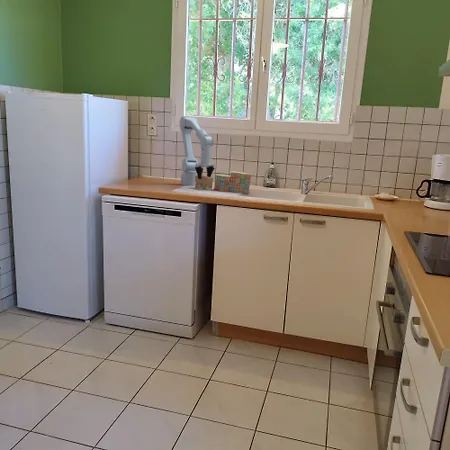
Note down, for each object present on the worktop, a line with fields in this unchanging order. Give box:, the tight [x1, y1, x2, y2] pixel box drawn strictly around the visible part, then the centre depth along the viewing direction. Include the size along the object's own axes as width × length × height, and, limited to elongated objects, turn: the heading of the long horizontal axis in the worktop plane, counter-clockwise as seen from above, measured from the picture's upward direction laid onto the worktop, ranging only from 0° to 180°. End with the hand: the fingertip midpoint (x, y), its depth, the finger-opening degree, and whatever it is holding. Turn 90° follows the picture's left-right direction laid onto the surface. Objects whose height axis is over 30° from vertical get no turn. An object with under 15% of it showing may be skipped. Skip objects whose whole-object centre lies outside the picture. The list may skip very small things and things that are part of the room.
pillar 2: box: [202, 183, 213, 191], centre depth 264 cm, size 4×4×4 cm
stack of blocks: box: [213, 170, 252, 195], centre depth 264 cm, size 21×6×12 cm, turn 85°
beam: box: [195, 174, 214, 185], centre depth 266 cm, size 12×4×4 cm, turn 46°
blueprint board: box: [180, 186, 204, 192], centre depth 264 cm, size 16×24×1 cm, turn 136°
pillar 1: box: [194, 182, 203, 189], centre depth 269 cm, size 4×4×4 cm
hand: (204, 178), depth 265 cm, fingers open, 7 cm apart
